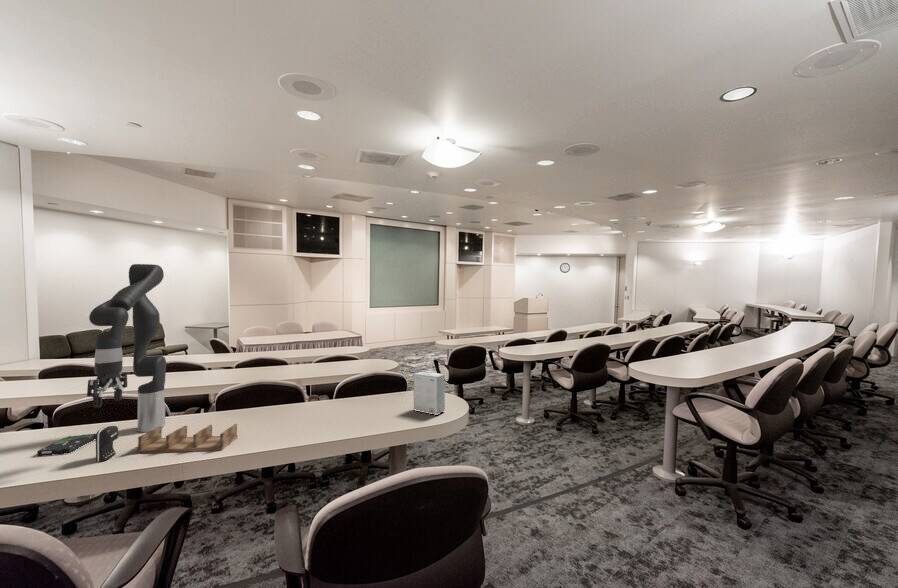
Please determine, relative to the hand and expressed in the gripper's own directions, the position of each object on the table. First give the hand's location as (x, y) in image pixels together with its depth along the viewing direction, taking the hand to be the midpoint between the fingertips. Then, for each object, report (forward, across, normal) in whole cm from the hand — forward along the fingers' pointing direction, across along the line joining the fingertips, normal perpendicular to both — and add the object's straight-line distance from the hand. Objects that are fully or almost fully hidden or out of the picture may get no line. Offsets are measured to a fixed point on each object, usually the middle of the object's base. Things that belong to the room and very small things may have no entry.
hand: (108, 403), depth 131 cm
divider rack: (+20, -9, +23) cm, 32 cm away
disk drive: (+21, -12, -24) cm, 34 cm away
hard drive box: (+20, -43, +122) cm, 131 cm away
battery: (+21, 0, 0) cm, 21 cm away
